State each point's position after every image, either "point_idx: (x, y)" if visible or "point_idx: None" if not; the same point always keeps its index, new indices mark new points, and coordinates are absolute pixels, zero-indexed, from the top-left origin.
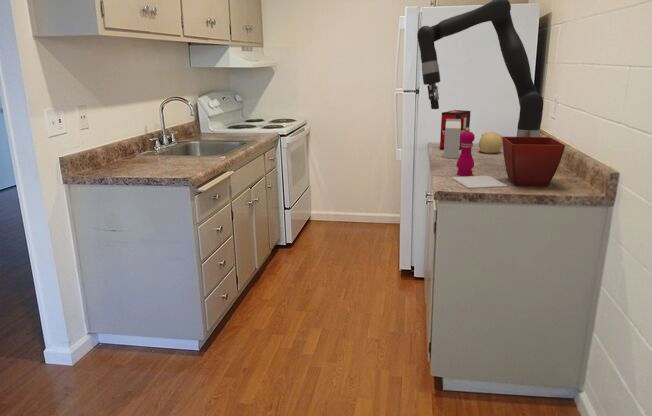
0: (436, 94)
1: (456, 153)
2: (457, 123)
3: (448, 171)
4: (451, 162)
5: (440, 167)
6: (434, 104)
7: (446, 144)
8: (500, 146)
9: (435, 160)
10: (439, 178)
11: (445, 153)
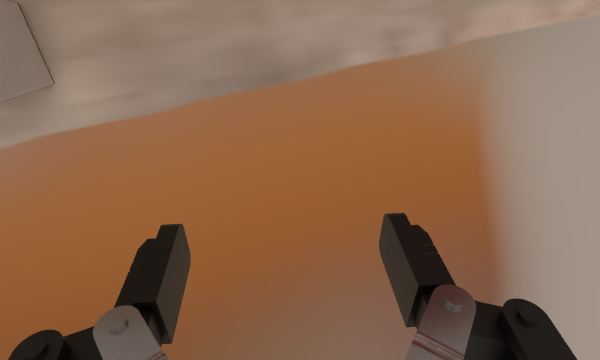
0: (422, 354)
1: (8, 16)
2: None
3: (365, 11)
4: (153, 27)
5: (293, 60)
6: (434, 250)
7: (9, 86)
8: None
9: (140, 112)
10: (493, 28)
11: (39, 81)
